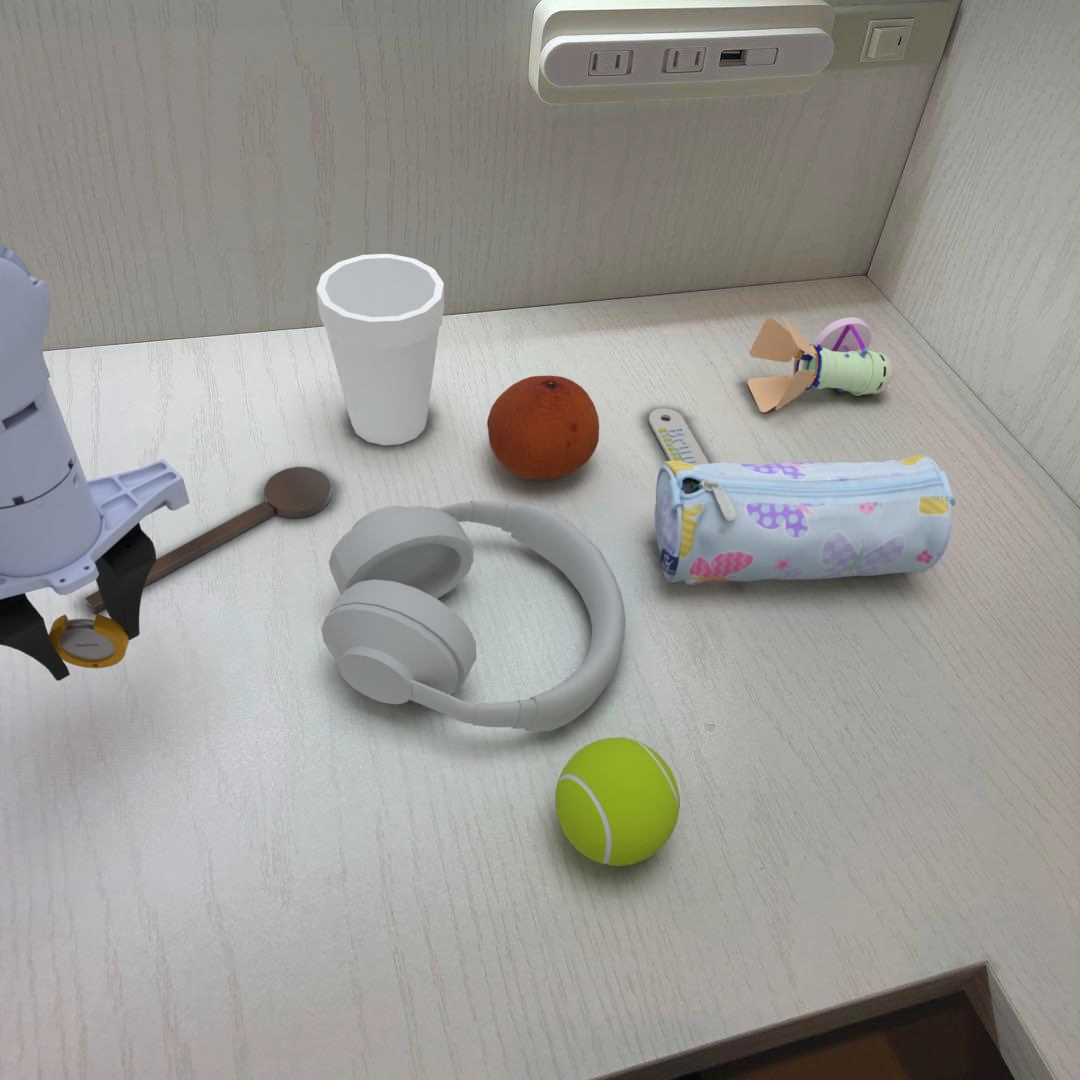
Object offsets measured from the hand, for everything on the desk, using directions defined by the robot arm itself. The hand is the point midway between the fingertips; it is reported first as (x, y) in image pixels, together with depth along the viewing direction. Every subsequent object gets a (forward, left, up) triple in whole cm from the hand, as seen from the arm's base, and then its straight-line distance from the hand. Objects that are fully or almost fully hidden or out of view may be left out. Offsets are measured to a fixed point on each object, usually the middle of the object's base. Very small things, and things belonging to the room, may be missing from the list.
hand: (90, 647), depth 54 cm
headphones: (+21, -9, -9) cm, 25 cm away
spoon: (+13, +10, -8) cm, 18 cm away
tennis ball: (+17, -25, -9) cm, 32 cm away
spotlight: (+63, -9, -9) cm, 64 cm away
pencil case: (+43, -19, -9) cm, 48 cm away
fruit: (+37, +1, -9) cm, 38 cm away
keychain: (+47, -6, -8) cm, 48 cm away
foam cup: (+31, +13, -9) cm, 35 cm away
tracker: (0, 0, -2) cm, 2 cm away
